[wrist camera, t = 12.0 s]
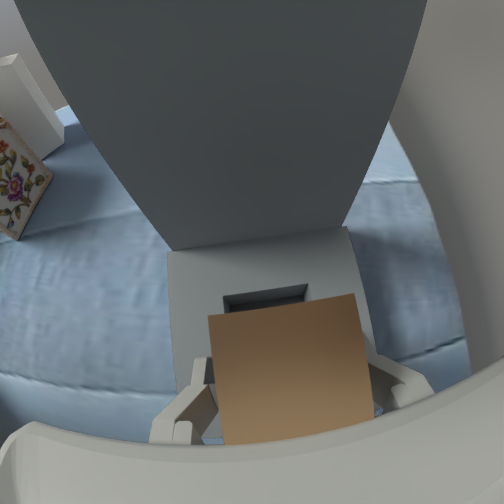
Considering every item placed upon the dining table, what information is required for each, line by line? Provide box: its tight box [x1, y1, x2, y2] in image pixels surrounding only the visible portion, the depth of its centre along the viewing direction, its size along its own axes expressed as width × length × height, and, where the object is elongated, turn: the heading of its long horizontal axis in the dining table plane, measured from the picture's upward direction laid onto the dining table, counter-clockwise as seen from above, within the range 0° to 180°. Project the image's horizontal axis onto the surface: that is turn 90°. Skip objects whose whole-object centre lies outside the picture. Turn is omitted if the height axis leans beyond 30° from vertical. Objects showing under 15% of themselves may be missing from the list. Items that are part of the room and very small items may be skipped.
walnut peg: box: [208, 293, 375, 446], centre depth 11 cm, size 4×4×11 cm
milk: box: [0, 54, 64, 160], centre depth 26 cm, size 6×6×22 cm
